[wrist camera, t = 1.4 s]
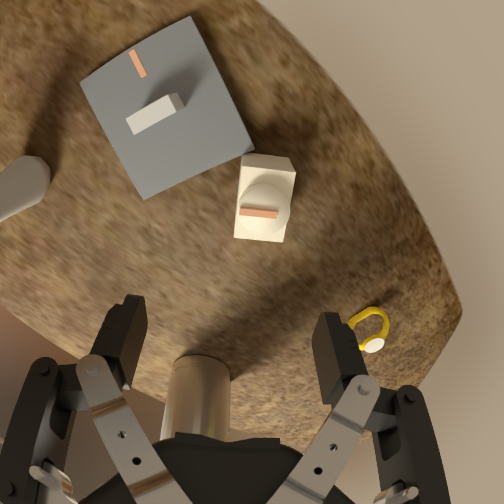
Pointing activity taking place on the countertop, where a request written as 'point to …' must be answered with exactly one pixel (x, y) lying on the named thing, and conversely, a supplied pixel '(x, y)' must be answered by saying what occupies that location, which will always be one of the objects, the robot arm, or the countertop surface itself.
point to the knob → (263, 197)
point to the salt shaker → (23, 184)
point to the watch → (373, 341)
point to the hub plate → (182, 129)
